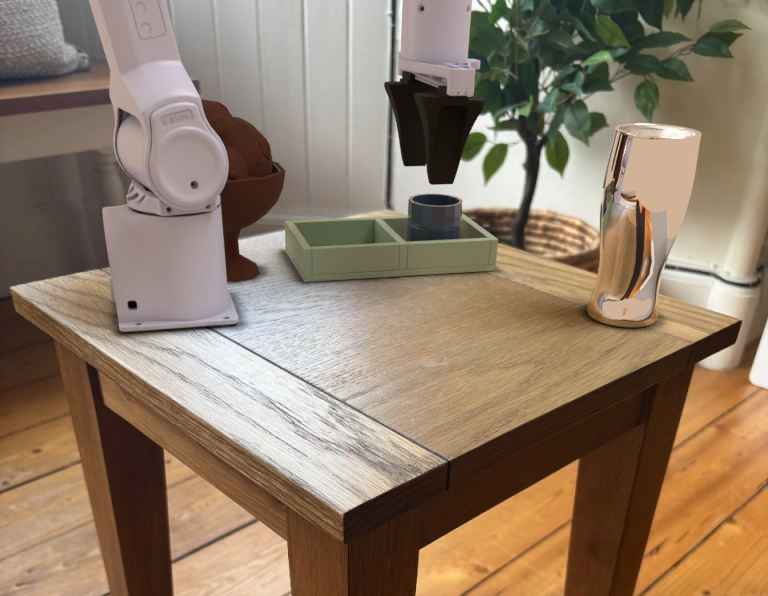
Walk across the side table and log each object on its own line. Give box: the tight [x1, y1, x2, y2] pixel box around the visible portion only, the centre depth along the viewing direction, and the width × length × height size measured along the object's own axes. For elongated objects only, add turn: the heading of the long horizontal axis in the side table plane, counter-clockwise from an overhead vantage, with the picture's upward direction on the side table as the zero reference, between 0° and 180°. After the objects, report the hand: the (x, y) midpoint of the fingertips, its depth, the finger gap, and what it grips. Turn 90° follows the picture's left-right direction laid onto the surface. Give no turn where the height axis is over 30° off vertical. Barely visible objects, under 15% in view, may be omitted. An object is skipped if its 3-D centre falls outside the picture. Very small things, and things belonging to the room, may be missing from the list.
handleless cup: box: [407, 193, 463, 242], centre depth 82 cm, size 5×5×5 cm
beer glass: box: [586, 122, 703, 329], centre depth 67 cm, size 7×7×15 cm
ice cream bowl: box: [200, 98, 286, 283], centre depth 74 cm, size 11×11×15 cm
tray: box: [284, 212, 499, 283], centre depth 82 cm, size 19×10×3 cm, turn 106°
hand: (427, 174), depth 74 cm, fingers open, 7 cm apart
